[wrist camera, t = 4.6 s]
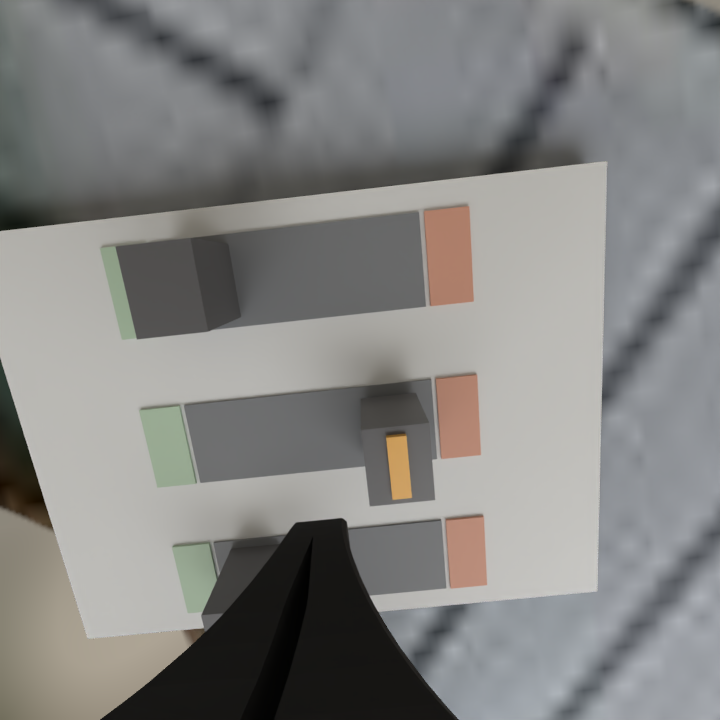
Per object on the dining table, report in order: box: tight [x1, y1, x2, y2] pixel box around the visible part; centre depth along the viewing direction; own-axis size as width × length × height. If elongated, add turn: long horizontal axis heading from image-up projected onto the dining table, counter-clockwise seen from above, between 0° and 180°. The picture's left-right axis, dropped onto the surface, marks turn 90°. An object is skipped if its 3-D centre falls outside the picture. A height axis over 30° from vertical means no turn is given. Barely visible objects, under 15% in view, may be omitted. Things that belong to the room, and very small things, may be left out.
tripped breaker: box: [361, 393, 435, 506], centre depth 16 cm, size 3×2×4 cm
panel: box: [0, 161, 607, 639], centre depth 18 cm, size 20×26×6 cm
